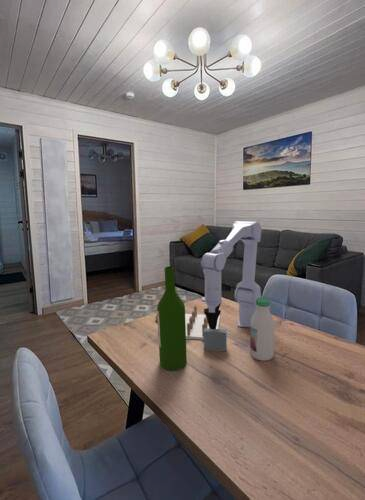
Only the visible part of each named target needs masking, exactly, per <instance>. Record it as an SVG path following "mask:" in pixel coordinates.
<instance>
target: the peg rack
mask: <svg viewBox="0 0 365 500" xmlns="http://www.w3.org/2000/svg"><path fill="white" fill-rule="evenodd" d="M206 309H209V307H208V306H207V307H206ZM220 321H221V314H220V315H219V317H218V320H217V326H216V329H220ZM185 324H186V340H189V339H190V340H201V341H204V328H208V329H210V328H209V324H208V320H207V317H206V315H205V314H201V313H200V314H198V307H197V305H194V306H193V310H192V311H191V313H185Z"/></svg>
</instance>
